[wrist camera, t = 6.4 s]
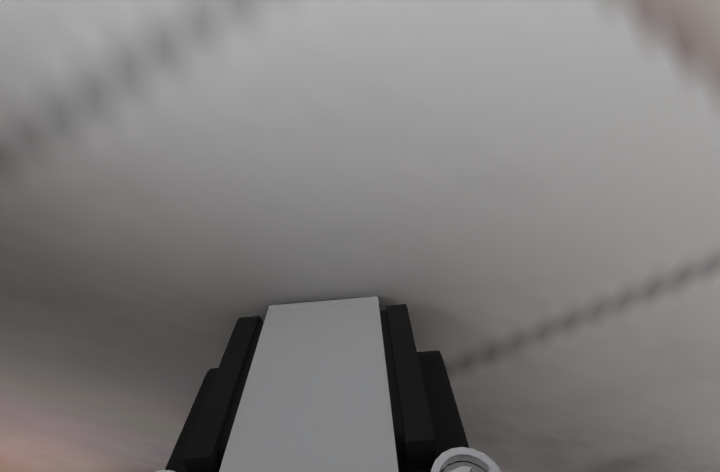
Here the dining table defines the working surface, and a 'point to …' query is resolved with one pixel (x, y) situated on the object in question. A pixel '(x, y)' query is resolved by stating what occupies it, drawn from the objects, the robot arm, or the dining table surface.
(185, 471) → the robot arm
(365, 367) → the cube dumbbell
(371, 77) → the dining table surface
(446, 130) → the dining table surface
